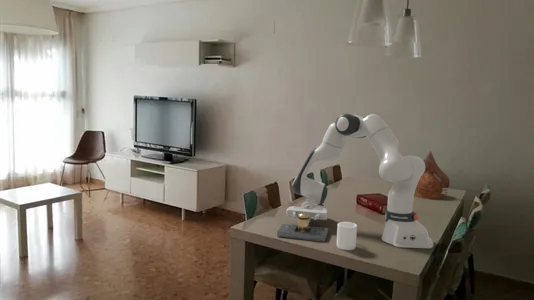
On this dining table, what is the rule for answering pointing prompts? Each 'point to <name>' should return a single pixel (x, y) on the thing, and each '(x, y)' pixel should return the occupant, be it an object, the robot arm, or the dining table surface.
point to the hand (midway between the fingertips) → (304, 217)
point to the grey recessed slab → (302, 233)
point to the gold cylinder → (303, 222)
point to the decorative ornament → (431, 180)
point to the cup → (346, 235)
